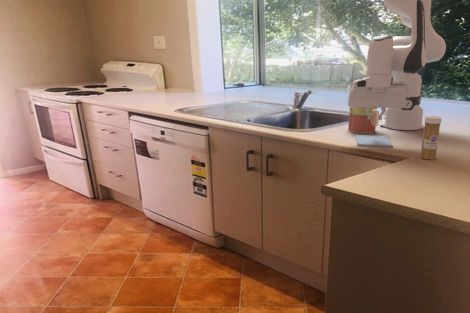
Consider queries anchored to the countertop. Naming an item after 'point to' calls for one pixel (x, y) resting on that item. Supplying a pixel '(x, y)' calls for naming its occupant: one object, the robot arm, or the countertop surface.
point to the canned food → (360, 120)
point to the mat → (373, 141)
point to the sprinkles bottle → (430, 137)
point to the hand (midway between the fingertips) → (374, 119)
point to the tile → (375, 117)
